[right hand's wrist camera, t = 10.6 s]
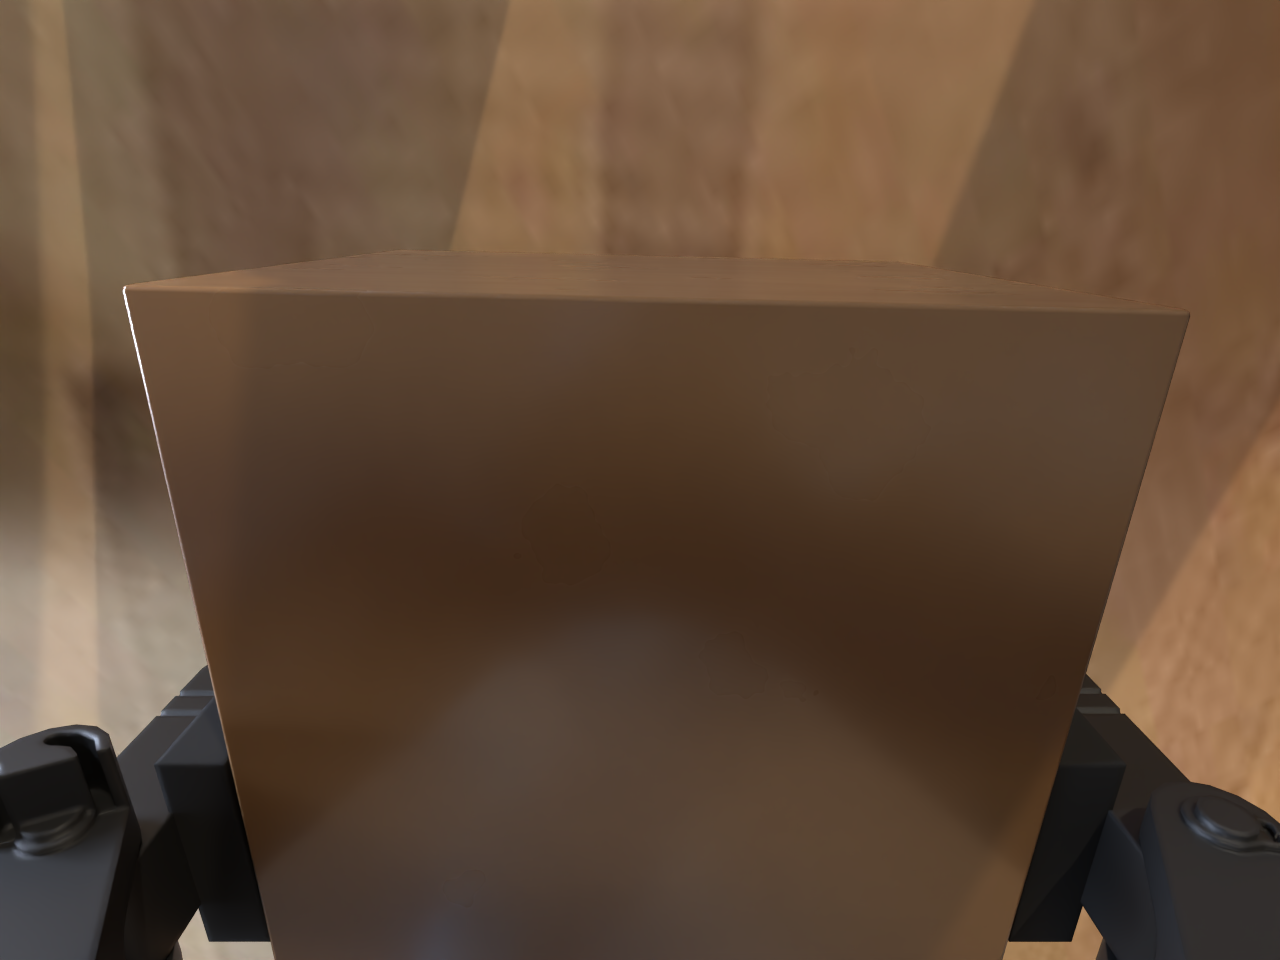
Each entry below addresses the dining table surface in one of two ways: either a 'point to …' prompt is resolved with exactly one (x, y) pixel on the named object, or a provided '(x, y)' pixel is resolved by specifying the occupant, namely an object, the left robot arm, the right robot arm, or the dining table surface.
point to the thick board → (646, 590)
